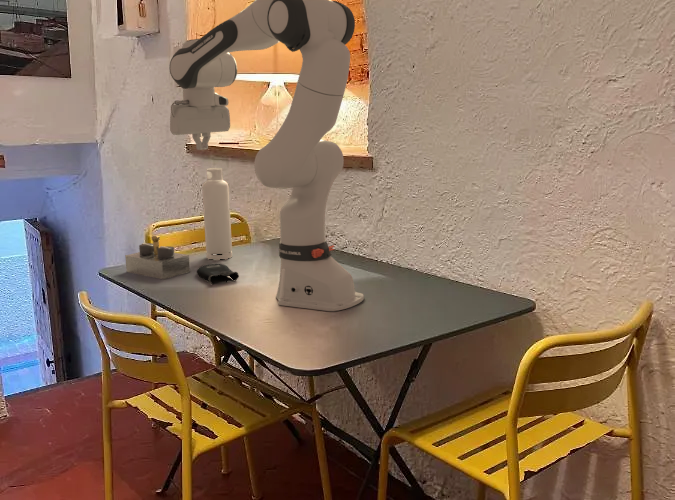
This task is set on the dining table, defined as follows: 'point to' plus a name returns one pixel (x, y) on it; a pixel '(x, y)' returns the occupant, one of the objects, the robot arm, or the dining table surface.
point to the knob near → (165, 252)
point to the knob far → (146, 249)
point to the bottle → (217, 215)
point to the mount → (157, 265)
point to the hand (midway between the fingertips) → (202, 149)
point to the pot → (155, 244)
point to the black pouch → (215, 272)
